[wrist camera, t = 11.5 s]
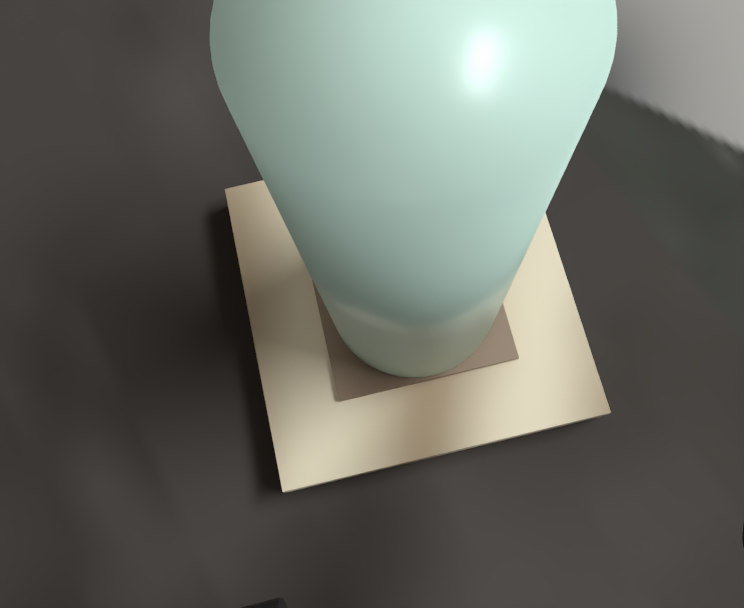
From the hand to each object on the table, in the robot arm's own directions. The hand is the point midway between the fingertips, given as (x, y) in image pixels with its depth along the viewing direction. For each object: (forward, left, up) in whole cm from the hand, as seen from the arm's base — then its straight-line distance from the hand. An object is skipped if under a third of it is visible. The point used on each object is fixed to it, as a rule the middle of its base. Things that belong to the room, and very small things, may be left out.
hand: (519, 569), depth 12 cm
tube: (0, +7, -8) cm, 11 cm away
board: (0, +7, -10) cm, 12 cm away
